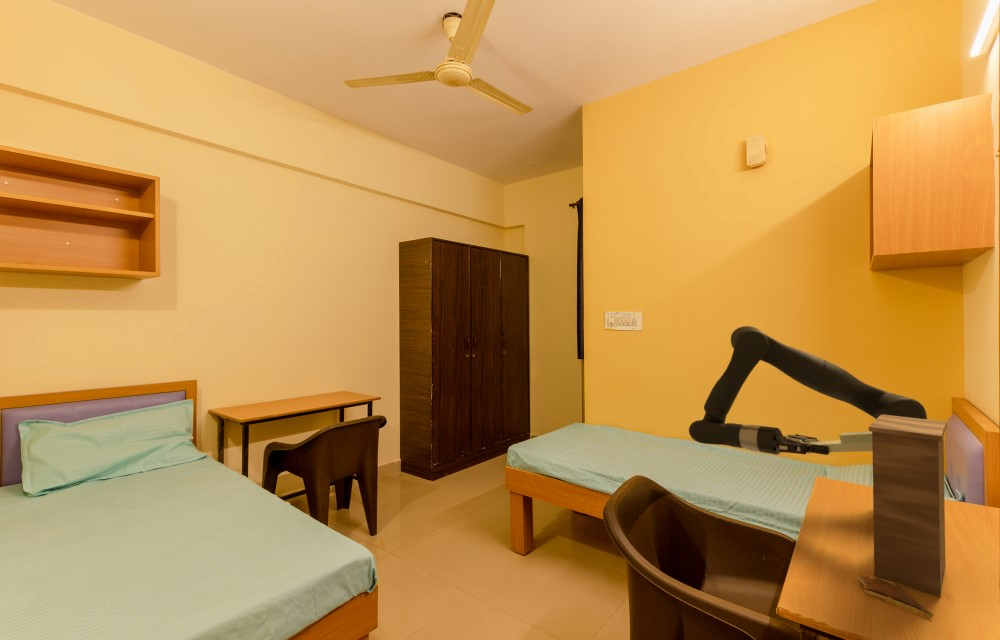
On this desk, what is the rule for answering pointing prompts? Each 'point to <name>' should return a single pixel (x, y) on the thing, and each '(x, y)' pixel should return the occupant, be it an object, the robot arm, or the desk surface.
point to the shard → (893, 595)
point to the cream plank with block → (849, 442)
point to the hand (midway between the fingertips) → (831, 448)
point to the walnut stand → (909, 501)
